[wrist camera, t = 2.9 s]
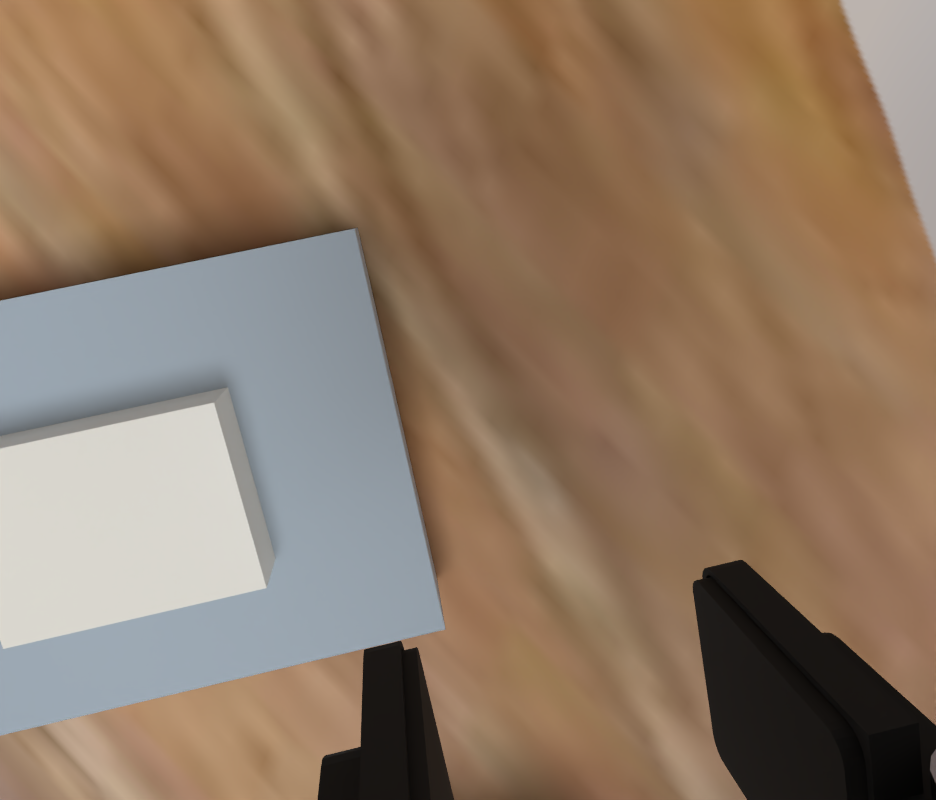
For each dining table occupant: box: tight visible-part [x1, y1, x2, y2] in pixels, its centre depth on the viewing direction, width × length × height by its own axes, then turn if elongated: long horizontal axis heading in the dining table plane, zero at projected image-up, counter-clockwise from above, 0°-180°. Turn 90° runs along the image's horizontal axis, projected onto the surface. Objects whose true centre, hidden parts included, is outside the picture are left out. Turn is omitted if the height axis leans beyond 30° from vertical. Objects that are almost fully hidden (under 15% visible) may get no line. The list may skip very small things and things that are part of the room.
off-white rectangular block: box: [0, 387, 276, 649], centre depth 24 cm, size 8×6×2 cm
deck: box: [0, 228, 445, 735], centre depth 27 cm, size 22×14×4 cm, turn 101°
